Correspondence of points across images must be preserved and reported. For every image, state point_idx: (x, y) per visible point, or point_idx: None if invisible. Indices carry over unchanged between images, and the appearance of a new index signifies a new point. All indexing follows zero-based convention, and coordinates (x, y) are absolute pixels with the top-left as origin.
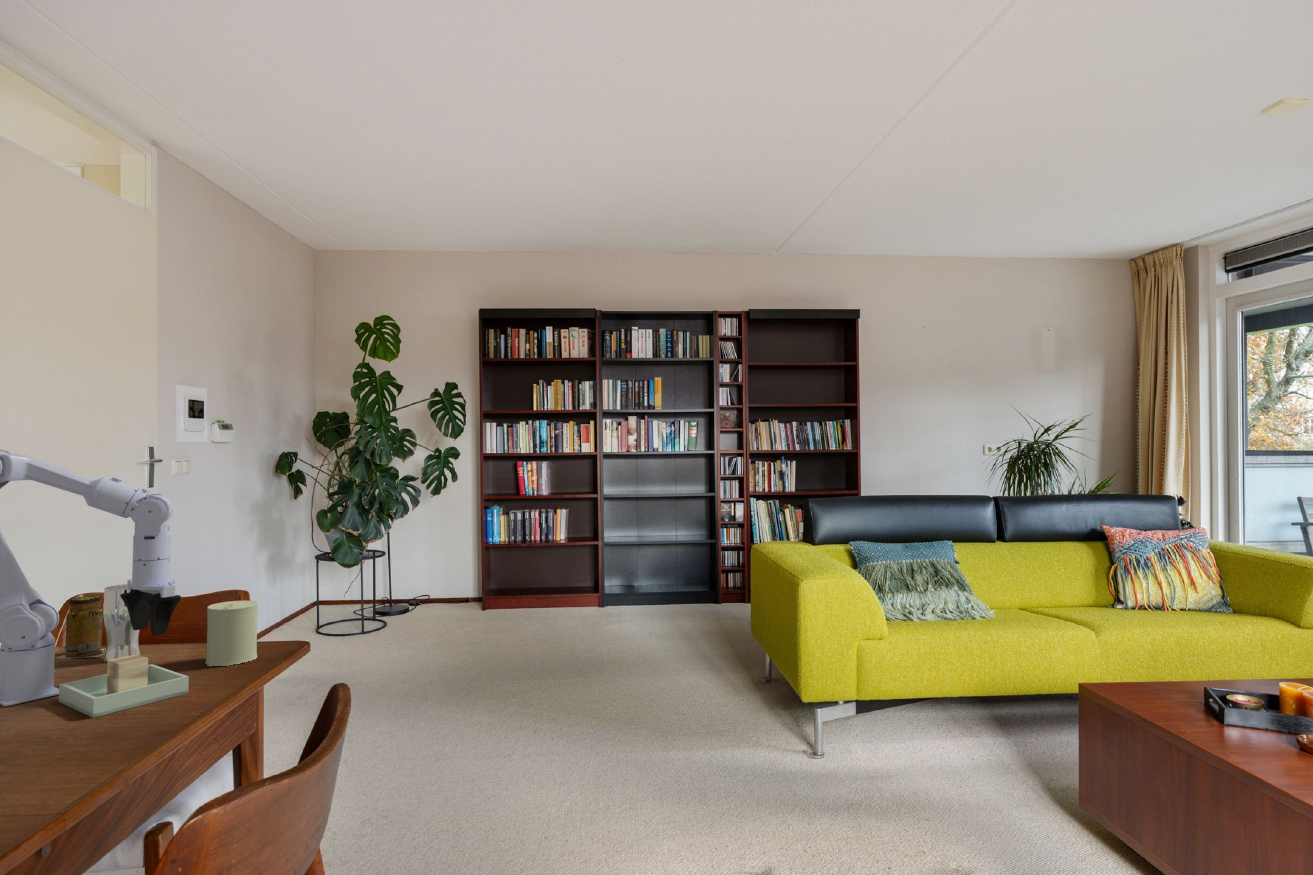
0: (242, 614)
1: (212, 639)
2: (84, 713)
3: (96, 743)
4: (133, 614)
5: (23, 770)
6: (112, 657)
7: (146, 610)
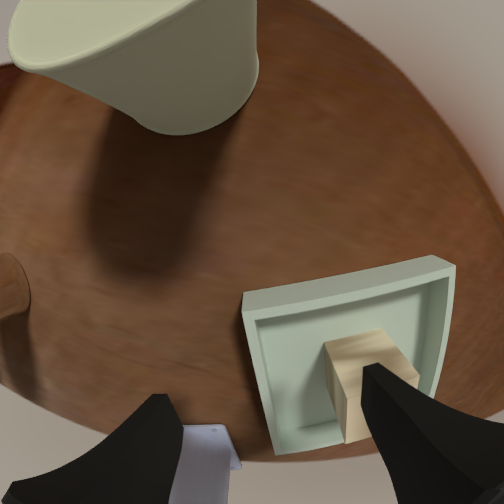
0: None
1: (191, 99)
2: None
3: (489, 378)
4: (165, 487)
5: (482, 416)
6: (22, 309)
7: (136, 464)
